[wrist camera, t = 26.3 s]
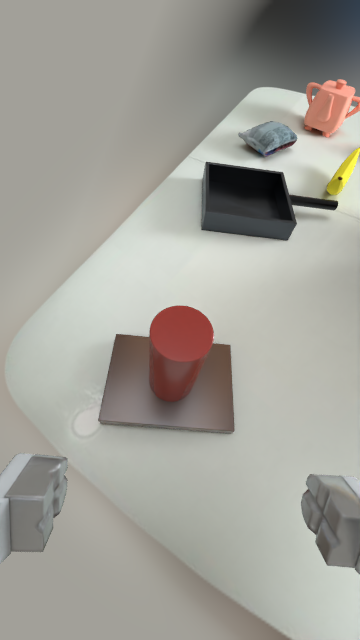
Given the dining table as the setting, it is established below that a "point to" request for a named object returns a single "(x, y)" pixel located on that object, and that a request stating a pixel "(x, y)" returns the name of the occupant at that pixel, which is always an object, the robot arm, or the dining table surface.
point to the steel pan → (251, 202)
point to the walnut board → (150, 411)
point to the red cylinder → (177, 351)
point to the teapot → (329, 106)
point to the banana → (343, 174)
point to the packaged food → (269, 137)
